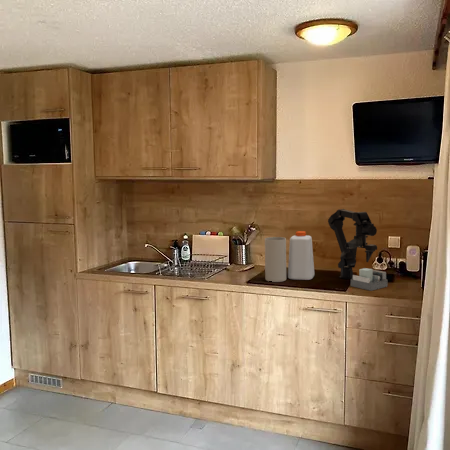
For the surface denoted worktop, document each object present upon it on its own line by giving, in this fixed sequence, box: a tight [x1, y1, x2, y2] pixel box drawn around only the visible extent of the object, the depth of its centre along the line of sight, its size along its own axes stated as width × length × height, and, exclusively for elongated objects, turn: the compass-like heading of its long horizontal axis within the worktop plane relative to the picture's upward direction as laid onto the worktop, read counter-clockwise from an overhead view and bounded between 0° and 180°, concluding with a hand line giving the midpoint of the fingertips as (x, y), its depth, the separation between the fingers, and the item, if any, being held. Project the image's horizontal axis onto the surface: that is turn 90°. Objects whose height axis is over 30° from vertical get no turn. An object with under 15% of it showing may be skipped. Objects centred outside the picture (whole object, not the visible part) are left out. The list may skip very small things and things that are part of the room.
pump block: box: [358, 267, 374, 281], centre depth 276 cm, size 5×5×6 cm
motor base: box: [350, 269, 388, 292], centre depth 278 cm, size 14×14×8 cm
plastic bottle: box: [287, 230, 315, 281], centre depth 303 cm, size 15×15×28 cm
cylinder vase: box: [264, 236, 287, 283], centre depth 298 cm, size 12×12×25 cm
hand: (360, 260), depth 287 cm, fingers open, 9 cm apart
